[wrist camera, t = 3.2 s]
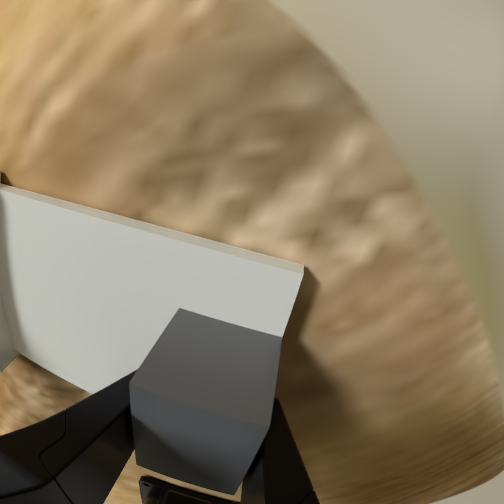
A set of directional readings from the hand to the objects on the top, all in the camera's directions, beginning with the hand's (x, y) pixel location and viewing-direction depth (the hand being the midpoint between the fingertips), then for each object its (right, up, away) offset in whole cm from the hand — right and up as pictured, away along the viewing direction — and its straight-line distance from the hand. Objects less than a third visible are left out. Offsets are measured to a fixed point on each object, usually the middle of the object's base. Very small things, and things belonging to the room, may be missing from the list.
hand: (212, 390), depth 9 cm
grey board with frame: (-8, +3, +2) cm, 9 cm away
